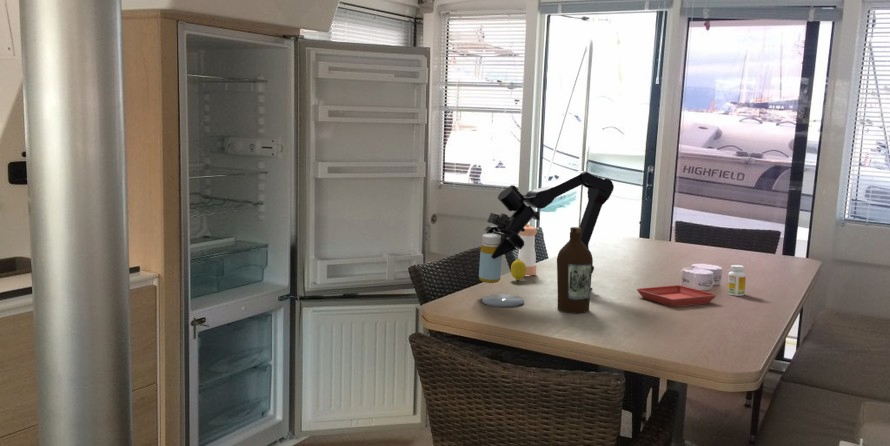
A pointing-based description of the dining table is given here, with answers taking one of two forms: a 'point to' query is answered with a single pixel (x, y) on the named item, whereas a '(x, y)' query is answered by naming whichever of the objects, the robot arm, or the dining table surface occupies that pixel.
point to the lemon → (518, 269)
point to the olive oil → (574, 275)
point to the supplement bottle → (736, 281)
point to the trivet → (503, 300)
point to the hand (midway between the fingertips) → (487, 256)
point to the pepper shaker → (528, 249)
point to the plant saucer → (676, 295)
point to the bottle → (490, 259)
